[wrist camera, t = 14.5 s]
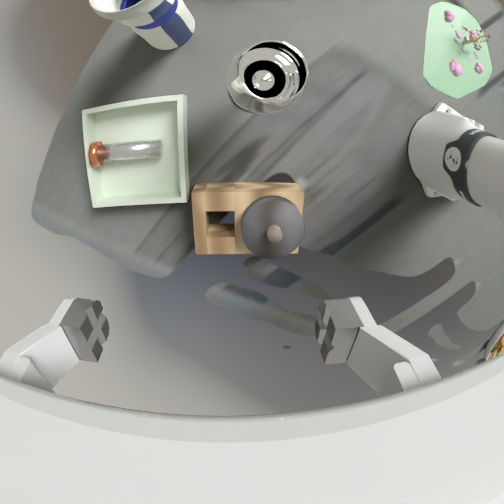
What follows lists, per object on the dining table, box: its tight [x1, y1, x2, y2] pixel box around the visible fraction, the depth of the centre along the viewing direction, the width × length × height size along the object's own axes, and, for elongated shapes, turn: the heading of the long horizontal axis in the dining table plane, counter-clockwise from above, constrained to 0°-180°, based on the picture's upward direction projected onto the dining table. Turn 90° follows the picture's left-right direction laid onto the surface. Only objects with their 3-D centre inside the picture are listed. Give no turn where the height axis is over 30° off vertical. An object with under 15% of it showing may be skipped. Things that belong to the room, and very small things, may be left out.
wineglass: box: [226, 40, 308, 114], centre depth 27 cm, size 8×8×20 cm
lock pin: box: [88, 139, 163, 167], centre depth 36 cm, size 4×4×11 cm
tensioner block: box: [191, 182, 305, 259], centre depth 41 cm, size 16×10×9 cm, turn 89°
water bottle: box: [89, 0, 195, 50], centre depth 18 cm, size 8×9×25 cm
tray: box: [82, 95, 190, 208], centre depth 37 cm, size 16×16×4 cm
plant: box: [423, 2, 492, 99], centre depth 26 cm, size 25×21×9 cm
